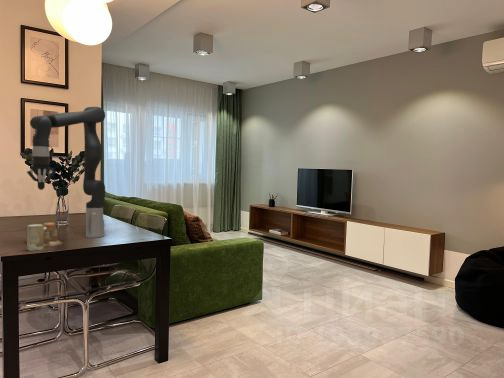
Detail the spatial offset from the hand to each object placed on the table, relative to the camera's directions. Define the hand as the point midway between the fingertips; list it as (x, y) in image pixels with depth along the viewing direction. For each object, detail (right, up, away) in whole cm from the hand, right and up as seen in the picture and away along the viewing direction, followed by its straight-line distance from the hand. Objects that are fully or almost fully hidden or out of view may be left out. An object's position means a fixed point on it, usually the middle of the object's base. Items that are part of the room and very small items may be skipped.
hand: (41, 189), depth 191 cm
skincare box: (+1, -30, -7) cm, 31 cm away
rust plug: (0, -25, +8) cm, 27 cm away
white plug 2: (-1, -27, +2) cm, 27 cm away
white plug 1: (-8, -26, +8) cm, 29 cm away
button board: (-2, -29, +7) cm, 29 cm away
